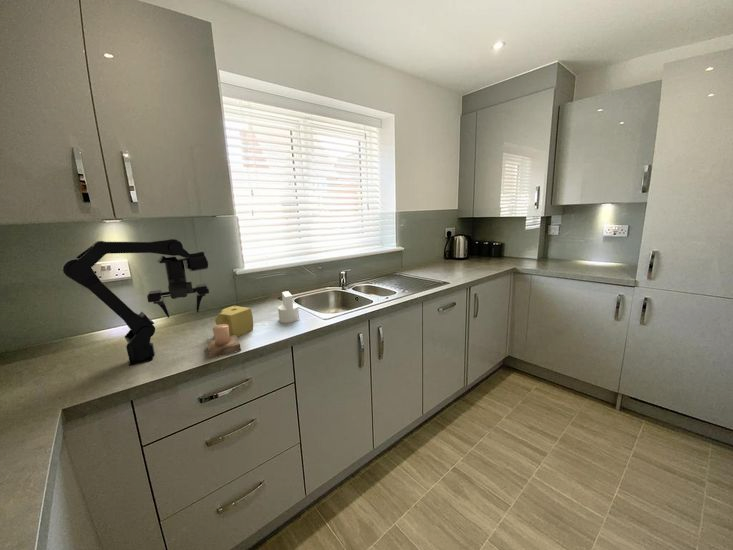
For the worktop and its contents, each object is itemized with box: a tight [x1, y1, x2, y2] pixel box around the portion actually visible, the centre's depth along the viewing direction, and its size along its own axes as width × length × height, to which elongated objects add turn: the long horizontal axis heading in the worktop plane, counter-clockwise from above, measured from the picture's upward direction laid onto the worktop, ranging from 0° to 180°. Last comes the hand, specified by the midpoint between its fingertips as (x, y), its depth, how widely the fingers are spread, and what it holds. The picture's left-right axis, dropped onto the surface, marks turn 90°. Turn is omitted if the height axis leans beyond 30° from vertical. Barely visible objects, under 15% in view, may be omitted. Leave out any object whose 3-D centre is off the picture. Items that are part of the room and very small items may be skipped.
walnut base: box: [206, 335, 242, 359], centre depth 107 cm, size 10×10×3 cm
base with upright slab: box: [277, 290, 300, 324], centre depth 134 cm, size 9×9×12 cm
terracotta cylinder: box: [212, 324, 230, 345], centre depth 106 cm, size 5×5×6 cm
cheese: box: [214, 305, 254, 338], centre depth 121 cm, size 10×11×10 cm
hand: (183, 314), depth 110 cm, fingers open, 9 cm apart
